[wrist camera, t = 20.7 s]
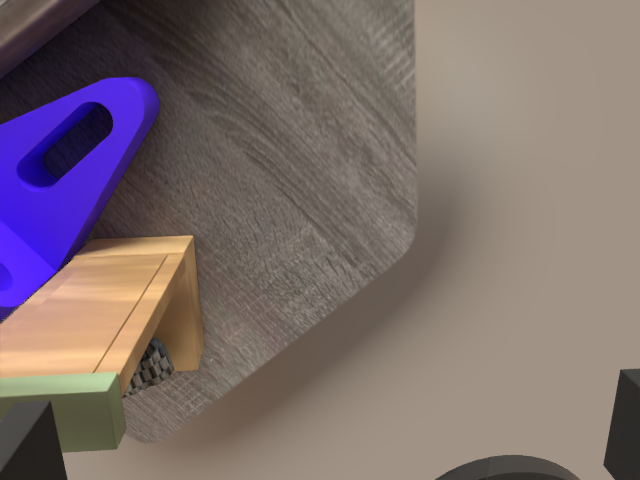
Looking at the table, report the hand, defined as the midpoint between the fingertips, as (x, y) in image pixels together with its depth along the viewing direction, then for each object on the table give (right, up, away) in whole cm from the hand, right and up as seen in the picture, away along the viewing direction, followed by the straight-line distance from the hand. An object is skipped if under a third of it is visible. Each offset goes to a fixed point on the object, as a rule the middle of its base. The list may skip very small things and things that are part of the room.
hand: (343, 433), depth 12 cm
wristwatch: (-14, -4, +29) cm, 32 cm away
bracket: (-20, +10, +28) cm, 36 cm away
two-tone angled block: (-15, 0, +31) cm, 35 cm away
